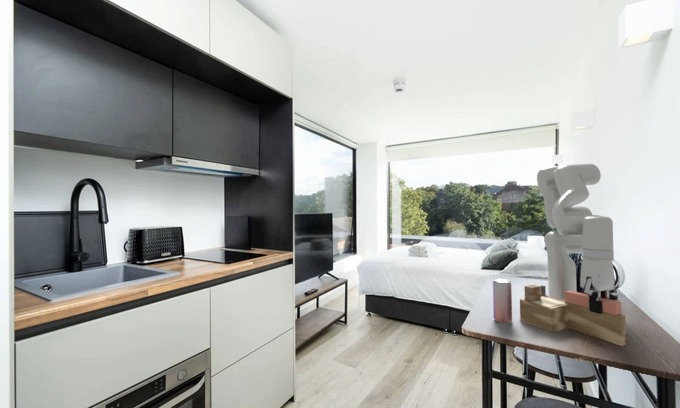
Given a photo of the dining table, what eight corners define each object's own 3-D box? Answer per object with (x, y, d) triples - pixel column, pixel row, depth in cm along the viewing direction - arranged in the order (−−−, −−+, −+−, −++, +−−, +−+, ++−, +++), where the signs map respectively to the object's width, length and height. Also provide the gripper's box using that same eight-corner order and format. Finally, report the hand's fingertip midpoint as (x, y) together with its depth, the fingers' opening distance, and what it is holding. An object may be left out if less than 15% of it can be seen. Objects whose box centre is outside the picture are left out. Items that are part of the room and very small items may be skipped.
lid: (543, 298, 110) (543, 282, 110) (568, 305, 102) (568, 288, 102) (524, 302, 106) (524, 286, 106) (549, 309, 98) (549, 292, 98)
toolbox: (542, 314, 112) (542, 285, 112) (629, 343, 88) (628, 305, 88) (519, 320, 107) (519, 289, 107) (605, 352, 83) (604, 312, 83)
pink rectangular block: (570, 300, 101) (570, 290, 102) (621, 313, 89) (621, 302, 89) (565, 301, 100) (564, 291, 100) (616, 315, 87) (615, 303, 87)
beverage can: (490, 318, 109) (489, 278, 110) (505, 317, 110) (504, 278, 110) (500, 324, 103) (499, 282, 104) (516, 323, 104) (515, 282, 104)
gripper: (598, 251, 99) (599, 304, 99) (568, 254, 93) (570, 311, 93) (626, 254, 92) (628, 311, 92) (596, 258, 86) (598, 319, 86)
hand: (599, 311), depth 93 cm, fingers closed on pink rectangular block, 3 cm apart
